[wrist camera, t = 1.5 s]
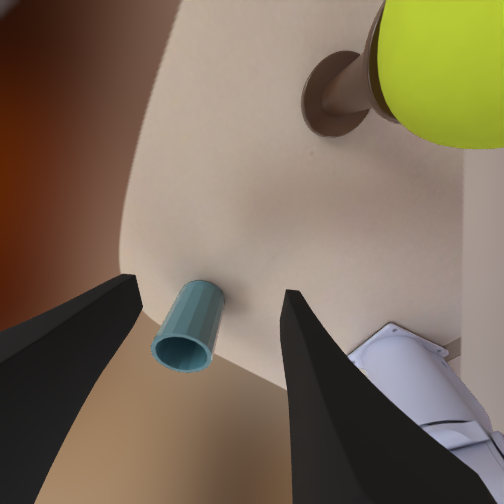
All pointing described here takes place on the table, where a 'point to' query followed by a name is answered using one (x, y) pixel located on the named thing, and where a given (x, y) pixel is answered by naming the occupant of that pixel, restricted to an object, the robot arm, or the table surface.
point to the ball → (445, 69)
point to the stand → (345, 89)
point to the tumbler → (190, 328)
